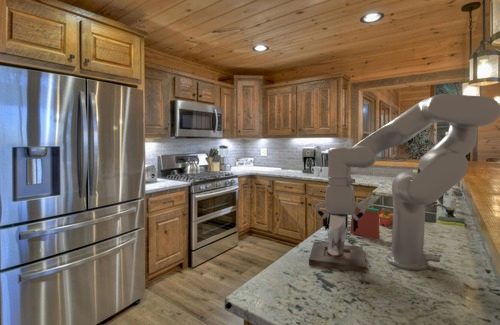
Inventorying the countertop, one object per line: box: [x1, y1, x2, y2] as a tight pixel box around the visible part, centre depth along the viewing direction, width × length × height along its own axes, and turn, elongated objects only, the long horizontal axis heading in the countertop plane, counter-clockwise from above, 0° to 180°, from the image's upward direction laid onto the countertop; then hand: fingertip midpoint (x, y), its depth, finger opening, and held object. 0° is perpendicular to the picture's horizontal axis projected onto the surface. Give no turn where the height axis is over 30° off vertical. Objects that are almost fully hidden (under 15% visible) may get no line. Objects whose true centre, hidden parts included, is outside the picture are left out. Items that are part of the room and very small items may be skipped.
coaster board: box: [308, 241, 367, 274], centre depth 99 cm, size 18×18×2 cm
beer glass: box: [327, 214, 349, 258], centre depth 99 cm, size 7×7×15 cm
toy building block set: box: [349, 204, 393, 240], centre depth 135 cm, size 12×35×14 cm, turn 134°
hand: (340, 229), depth 98 cm, fingers open, 9 cm apart
